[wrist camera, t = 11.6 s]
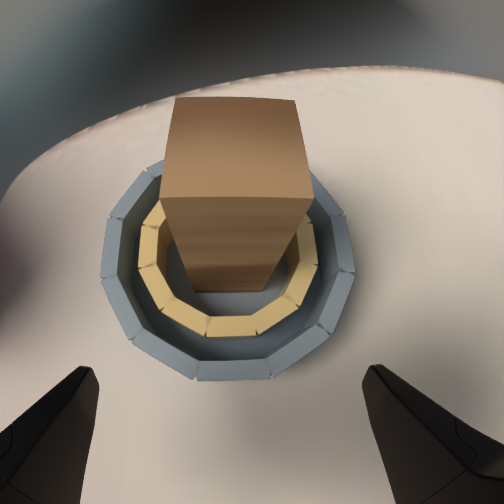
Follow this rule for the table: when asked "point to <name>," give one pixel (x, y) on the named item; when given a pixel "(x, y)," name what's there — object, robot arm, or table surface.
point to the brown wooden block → (234, 188)
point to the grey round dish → (224, 304)
